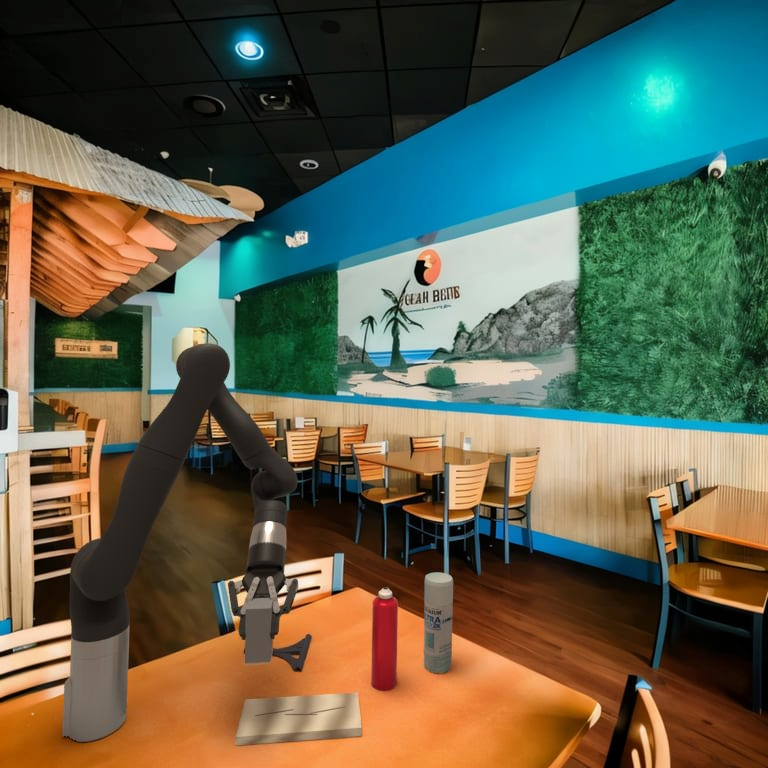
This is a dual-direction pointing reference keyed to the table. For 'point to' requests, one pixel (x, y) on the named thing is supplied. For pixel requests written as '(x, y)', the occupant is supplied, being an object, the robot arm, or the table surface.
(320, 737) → the board
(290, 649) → the squeegee
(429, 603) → the spray paint can
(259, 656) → the block
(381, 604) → the bottle
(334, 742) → the table surface
